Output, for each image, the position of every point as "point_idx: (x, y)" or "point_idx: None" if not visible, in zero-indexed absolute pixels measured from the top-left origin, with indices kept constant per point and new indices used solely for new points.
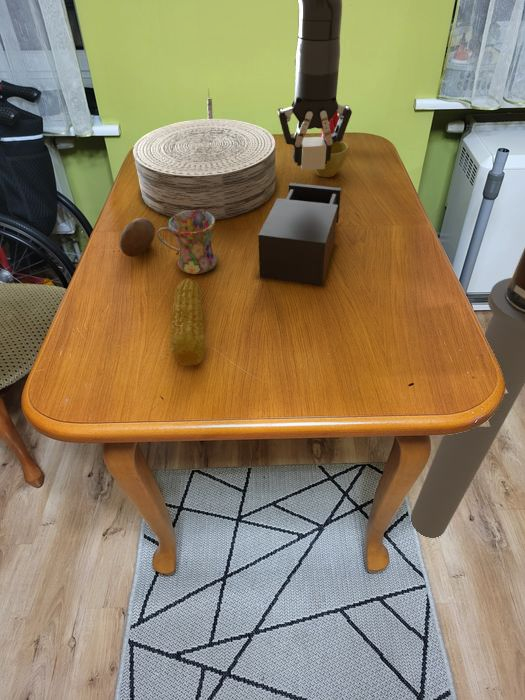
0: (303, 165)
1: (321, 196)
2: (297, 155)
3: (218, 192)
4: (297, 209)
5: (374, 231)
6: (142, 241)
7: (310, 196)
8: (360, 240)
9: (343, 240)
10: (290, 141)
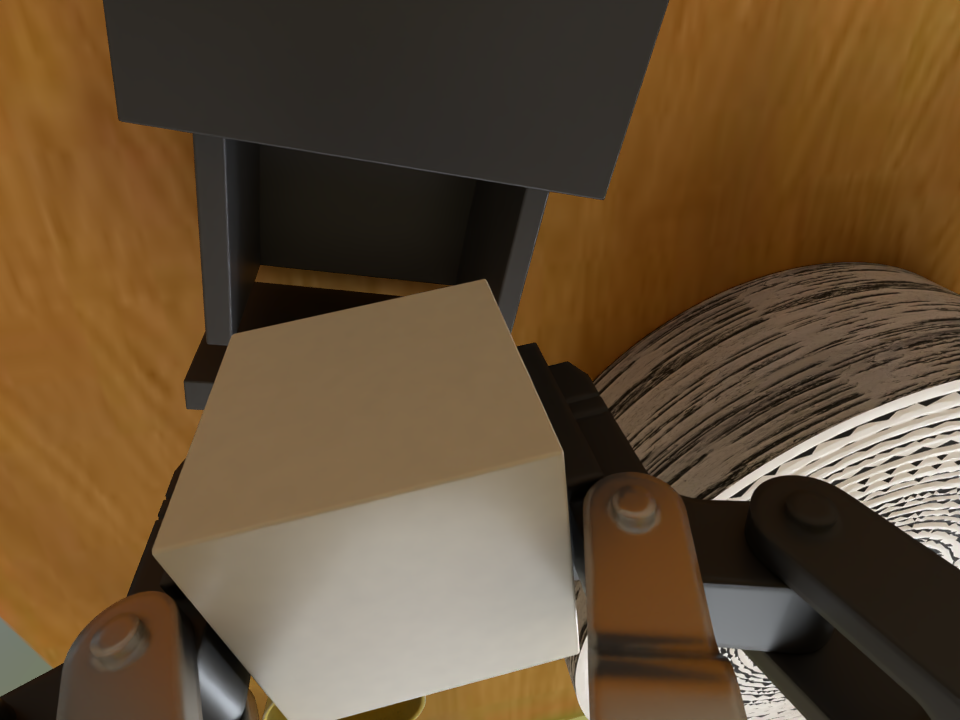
0: (480, 305)
1: None
2: (570, 415)
3: (829, 342)
4: (460, 13)
5: (12, 246)
6: None
7: None
8: (64, 146)
9: (166, 140)
10: (780, 515)
